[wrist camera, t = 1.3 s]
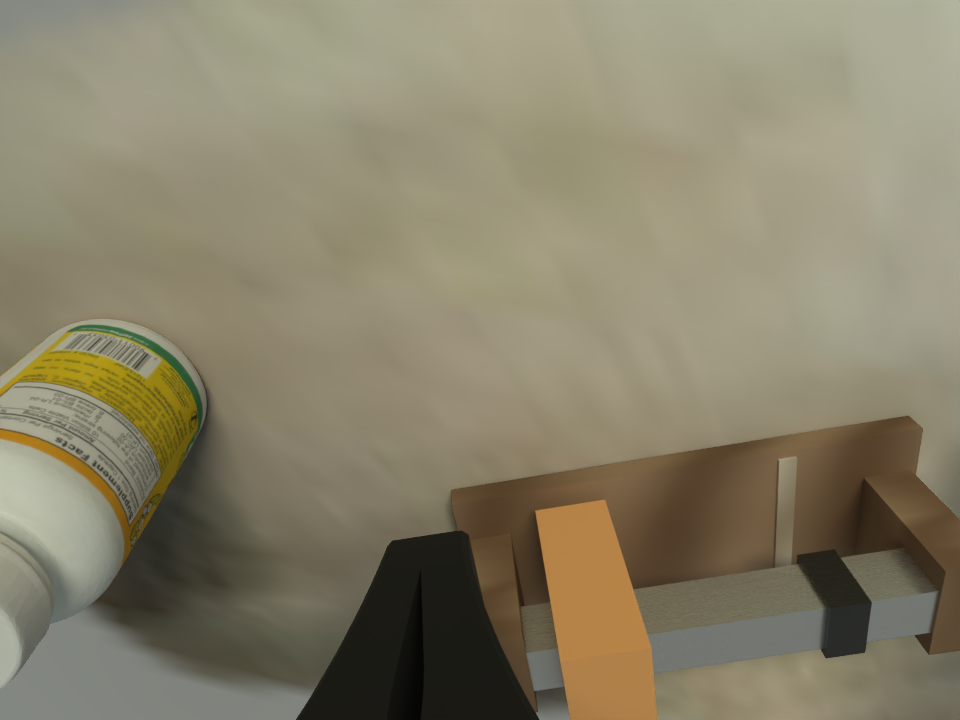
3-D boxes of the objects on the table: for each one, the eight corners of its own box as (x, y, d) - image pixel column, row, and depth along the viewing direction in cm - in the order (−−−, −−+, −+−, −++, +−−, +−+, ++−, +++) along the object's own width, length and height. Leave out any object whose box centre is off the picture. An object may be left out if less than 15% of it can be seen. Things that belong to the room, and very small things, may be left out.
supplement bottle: (153, 289, 20) (-64, 496, 12) (241, 430, 23) (115, 686, 14) (-2, 347, 21) (-312, 581, 12) (100, 478, 23) (-101, 749, 15)
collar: (605, 499, 23) (651, 648, 18) (618, 621, 26) (662, 782, 20) (535, 510, 23) (560, 661, 18) (556, 631, 26) (583, 793, 21)
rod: (951, 531, 22) (1000, 583, 20) (941, 580, 23) (987, 634, 21) (471, 605, 22) (473, 662, 20) (482, 650, 23) (485, 708, 21)
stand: (908, 415, 23) (1021, 516, 19) (886, 564, 27) (977, 681, 22) (451, 489, 24) (451, 604, 19) (484, 625, 27) (491, 751, 23)
